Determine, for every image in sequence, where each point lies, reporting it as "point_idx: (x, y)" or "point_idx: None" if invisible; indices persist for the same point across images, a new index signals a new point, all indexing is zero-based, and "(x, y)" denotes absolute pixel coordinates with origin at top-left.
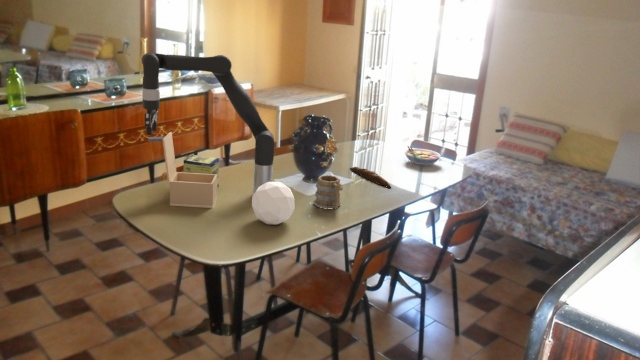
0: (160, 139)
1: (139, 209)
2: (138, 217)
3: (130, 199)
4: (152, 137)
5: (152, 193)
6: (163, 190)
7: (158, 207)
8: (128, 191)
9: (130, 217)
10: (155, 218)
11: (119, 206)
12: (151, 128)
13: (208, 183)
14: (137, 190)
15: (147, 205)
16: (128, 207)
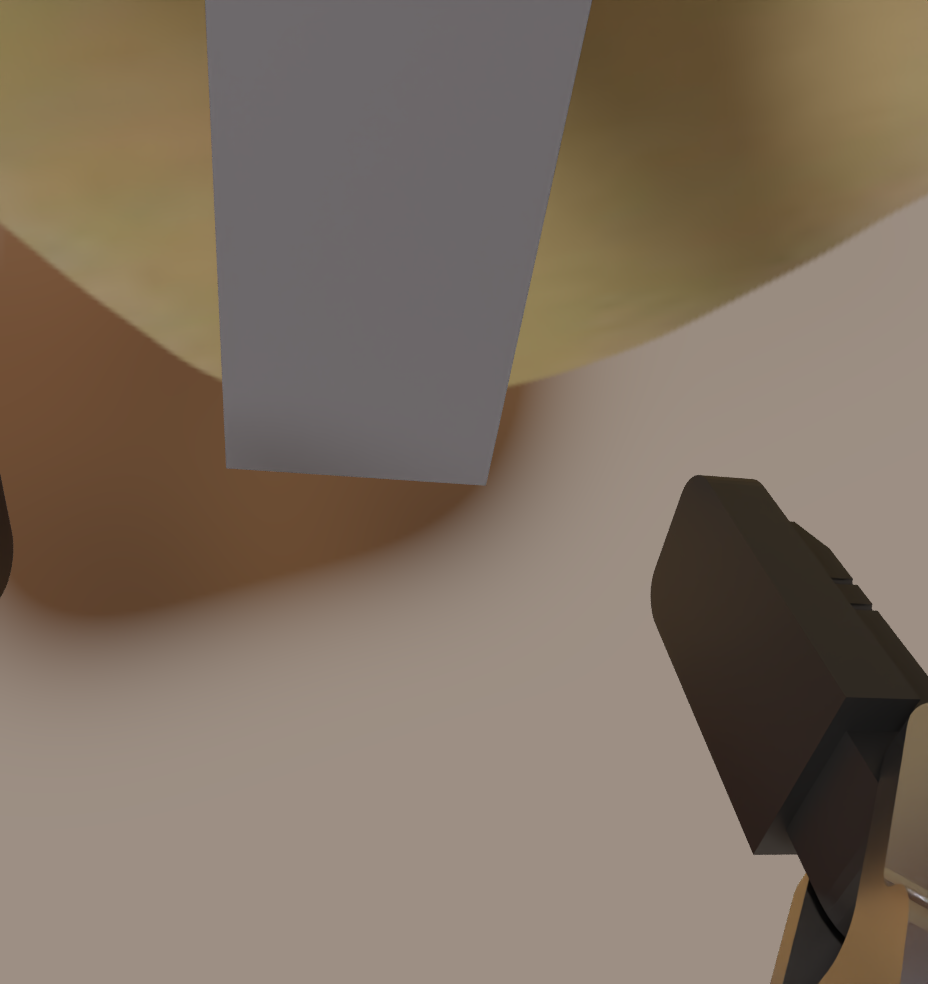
0: (559, 100)
1: (642, 195)
2: (822, 175)
3: None
4: (290, 407)
5: (210, 129)
6: (84, 7)
7: (609, 7)
8: (203, 365)
9: (806, 242)
10: (885, 5)
11: (561, 367)
12: (877, 654)
13: None
14: (158, 293)
15: None
16: (588, 296)
